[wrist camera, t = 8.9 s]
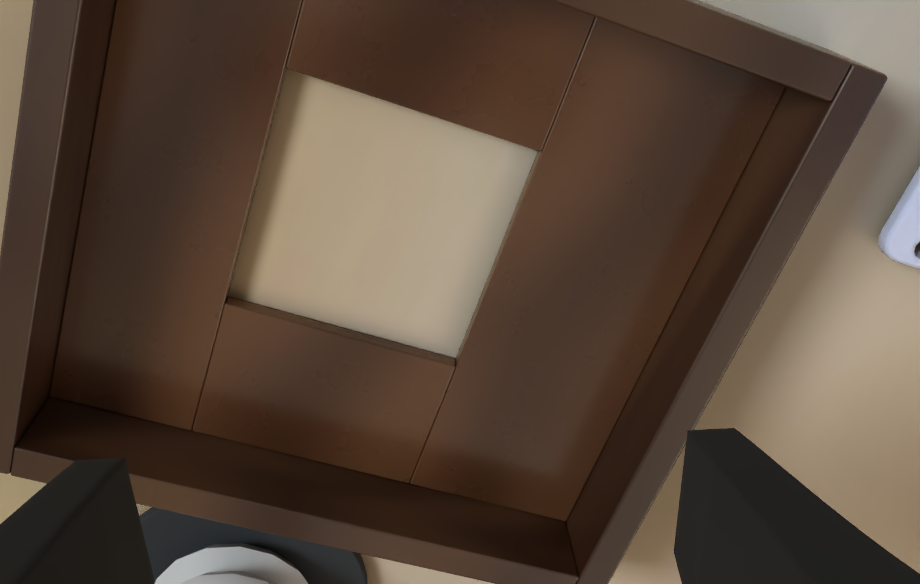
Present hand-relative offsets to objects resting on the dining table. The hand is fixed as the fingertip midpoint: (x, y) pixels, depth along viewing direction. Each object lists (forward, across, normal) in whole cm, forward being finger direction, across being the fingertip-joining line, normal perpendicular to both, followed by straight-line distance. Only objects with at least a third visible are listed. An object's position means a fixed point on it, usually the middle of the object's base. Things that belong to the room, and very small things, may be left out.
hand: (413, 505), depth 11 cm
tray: (+9, 0, 0) cm, 9 cm away
